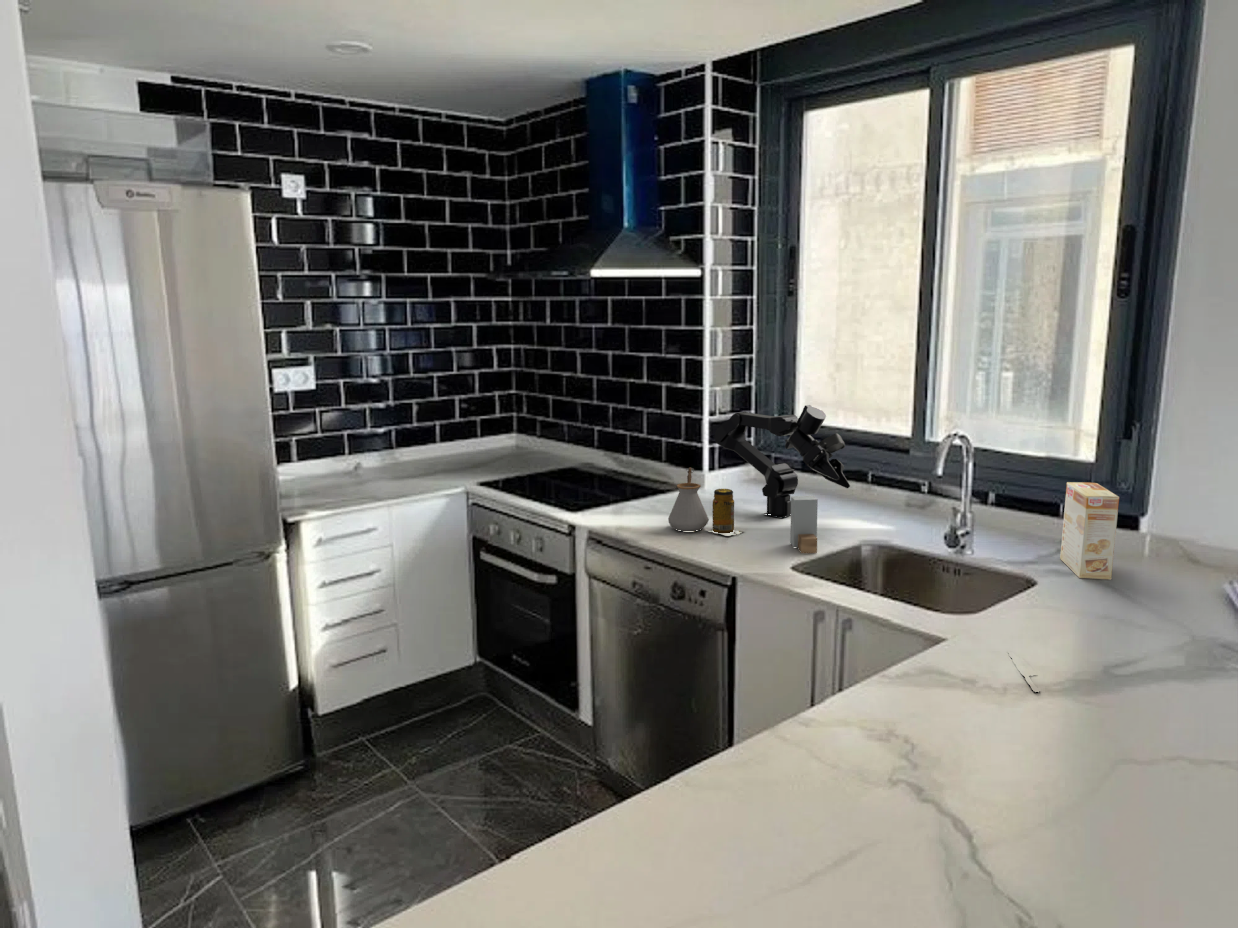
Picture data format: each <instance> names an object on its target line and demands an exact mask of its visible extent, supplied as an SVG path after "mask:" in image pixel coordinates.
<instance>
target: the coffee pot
mask: <svg viewBox="0 0 1238 928" xmlns="http://www.w3.org/2000/svg"><path fill="white" fill-rule="evenodd" d="M692 470H693V471H692ZM694 472H695V469H694V468H693V467H691V466H690V467H688V468H687V476H686V477H687V478H686V479H687V482H682V483H678V484H676V487H677V489H678V492H679V493H678V495H677V496H676V498H675V499H676V500H675V502H674V504H673V506H672V508H671V511H670V513H669V516H668V518H667V520H668V523H669V525H670V526H671V527H672V528H673V529H674V530H675V529H677V530H681V531H696V530H700V529H702V530H703V528H705V527H706V526H707V525H708V523H709V519H710V518H709V517H708V514H707V512H706V510H705V508H704V506H703V505H704V504H703V503H702V500H701V498H700V496H699V494H698V491H699V490H700V488H701V484H699V483H695V482H692V477H693V476H692V474H693V473H694Z"/></svg>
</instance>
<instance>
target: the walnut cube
mask: <svg viewBox="0 0 1238 928" xmlns="http://www.w3.org/2000/svg"><path fill="white" fill-rule="evenodd" d="M798 548H799V550H800V551H801V552H800V551H799V550H798V551H799V552H800V554H818V537H816V536H815V535H814V534H798ZM798 548H797V549H798Z"/></svg>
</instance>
